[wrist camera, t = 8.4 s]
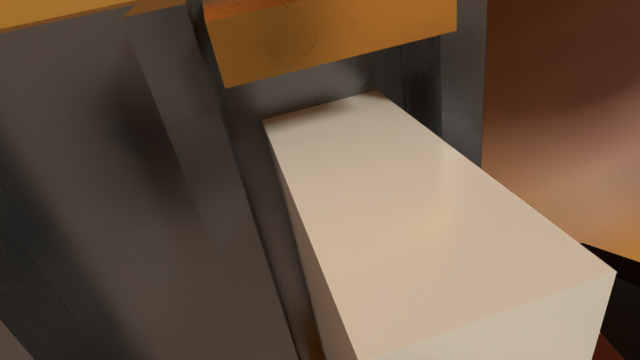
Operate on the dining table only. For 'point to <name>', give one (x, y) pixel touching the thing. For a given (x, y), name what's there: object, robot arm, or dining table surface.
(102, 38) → the rack
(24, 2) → the dining table surface
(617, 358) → the toy gun
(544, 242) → the block
